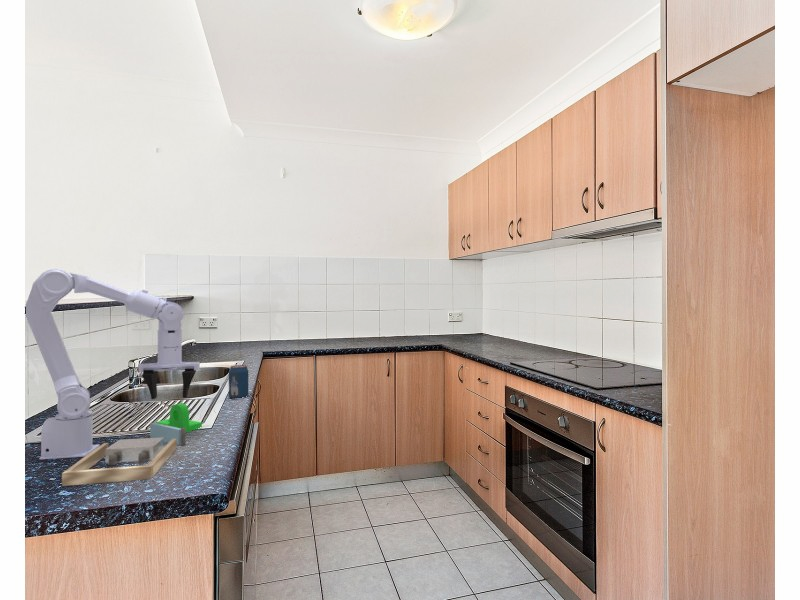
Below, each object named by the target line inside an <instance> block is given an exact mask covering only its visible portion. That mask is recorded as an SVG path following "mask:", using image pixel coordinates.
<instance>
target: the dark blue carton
mask: <svg viewBox="0 0 800 600" xmlns="http://www.w3.org/2000/svg"><path fill="white" fill-rule="evenodd" d="M228 396H229V397H228V398H230V397H231V398H242V397H246V396H247V397H248V396H249V369H248V366H247V365H245V364H239V365H238V364H236V365H230V369H229V370H228ZM247 397H246V398H247Z"/></svg>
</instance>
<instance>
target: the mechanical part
mask: <svg viewBox="0 0 800 600" xmlns="http://www.w3.org/2000/svg"><path fill="white" fill-rule="evenodd" d="M155 423H158V424H163V425H167V426H172V427H176V428H183V427H185V428H186V433H189V431H190V432H193V431H196V430H199V429H198V428H200V427H202V425H203V423H202V422H201V421H196V420H193V419H192V420H191V419H190V411H189V408H188V406H187V404H185V403H184V402H181V403H176V404H173V405H172V406H171V408H170V409H169V418H167V419H162V420H159V421H155ZM195 429H196V430H195ZM200 429H201V428H200ZM192 430H193V431H192Z"/></svg>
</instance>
